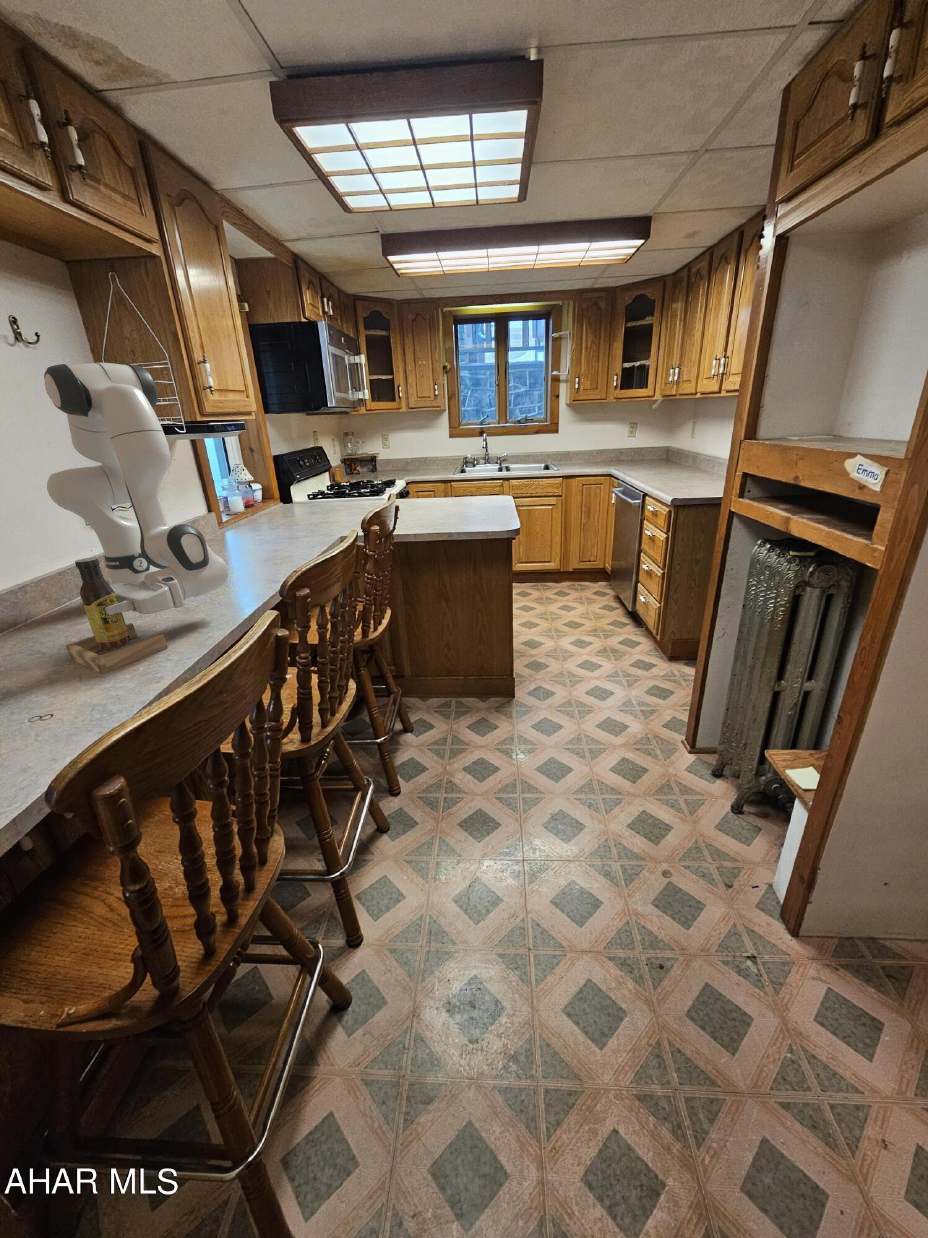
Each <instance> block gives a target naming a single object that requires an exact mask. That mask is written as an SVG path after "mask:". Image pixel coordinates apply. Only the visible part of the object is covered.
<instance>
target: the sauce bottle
mask: <svg viewBox="0 0 928 1238" xmlns="http://www.w3.org/2000/svg"><path fill="white" fill-rule="evenodd" d="M74 564H75V567H76V568H77V569H78V572H79V575H80V578H81V581H82V584H81V586H80V590H79V595H80V598H81V600H82V606H83V609H84V611H85V614H86V617H87V619H88V622H89V625H90V629H91V631H92V634H93V635H92V636H94V637H95V640H96V642H97V643H98V647H99V648H100V649H103V650H111V649H116V648H118V647H119V648H121V647H122V646H126V644H128V643H129V642H130V640H129V639H130V638H129V633H128V630H127V627H126V625H127V624H126V621H125V618H124V615H123V612H120V613H115V614H112V615H108V614H106V613H105V612H104V609H103V608H104V606H108V605H111V604H113V605H114V604H118V603H119V602H118V599H117V596H116V593H115V592H114V591H113V589H112V588H111V587H110V585H109V584H108V583H107V582H106V580H105V579H104V574H103V572H102V570H101V567H100V561H99V559H98V557H87V558H86V557H85V558H81V559H77V560H75V561H74Z"/></svg>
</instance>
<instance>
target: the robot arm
mask: <svg viewBox="0 0 928 1238" xmlns="http://www.w3.org/2000/svg"><path fill="white" fill-rule="evenodd" d="M43 378H44V388H45V391H46V394H47V396H48V397H49V399H50V401H52V404H53V405H54V407H56V408H57V409H58V410H59V411H61V412H63V413H64V414H66V417H67V422H68V427H69V432H70V434H69V435H70V438H71V444H72V446H73V448H74V449H75V452H76V451H77V453H78V454H80V455H81V456H82V457H84V458H87V459H88V460H90V461H93V462H97V463H100V465H95V466H88V467H87V466H85V467H74V468H73V467H72V468H68V469H64V470H61V471H58V472H57V471H56V472H54V473H51V474H50V475H49V477H48V479H47V482H46V490H47V493H48V496H49V497H50V499H51V500H52V501H53V503H55V504H56V505H57V506H59V507H60V508H62V509H64V510H66V511H69V512H72V513H73V514H75V515H77V516H78V517H80V518H81V519H82V520H84V521H85V522H86V523H87V524H88V525H89V526H90V527H91V528H92V529H93V531H94V532H95V535H96V537H97V538H98V541H99V543H100V545H101V547H102V550H103V552H104V553H103V554H104V563H105V568H107V569H106V571H105V574H103V577H104V579H105V580H106V582H107V583H108V584H109V585H110V587H111V588H112V589H113V591H114V592H115V593H116V596H117V599H118V602H119V603H118V604H114V605H113V604H111V605H108V606H104V608H103V609H104V612H105V613H106V614H108V615H112V614H115V613H120V612H122V613H125V612H135V613H138V614H141V615H153V614H156V613H160V612H163V611H167V610H170V609H180V608H183V607H185V601H187V600H188V599H189V598H190V599H191V598H196V597H200V596H203V595H206V594H208V593H211V592H214V591H216V590H218V589H219V588H221V587H222V586H224V585H225V583H226V582H227V581H228V576H229V571H228V566H227V564H226V562H225V560H224V559H223V558H222V557H221V556H219V555H217V554H216V553H215V552H214V551H213V550H212V549H211V548H210V547H209V545H208V543H207V542H206V539H205V537H204V536H203V533H202V532H201V531H199V530H198V528H197V527H194V526H193V525H191V524H190V525H189V524H176V525H172V526H170V525H169V523H168V521H167V518H166V517H167V516H166V514H165V510H164V509H163V508H164V507H163V504H162V502H161V498H160V485H161V481H162V480H163V477H164V476H165V474H166V472H167V470H168V469H169V467H170V465H171V460H172V457H171V451H170V447H169V443H168V440H167V437H166V435H165V433H164V430H163V427H162V425H161V423H160V421H159V417H158V416H157V414H156V412H155V410H154V408H155V407H156V406H157V402H158V401H159V394H158V389H157V384H156V382H155V380H154V377H153V376H152V375H151V374H150V373H149V371H148V370H147V369H146V368H144V367H143V366H139V365H135V364H132V363H130V364H129V363H126V364H120V363H119V364H118V363H114V362H113V363H111V362H94V363H92V362H91V363H90V362H89V363H88V362H87V363H76V364H66V363H62V364H60V363H59V364H55V365H51V366H48V367H47V368H46V370H45V372H44V374H43ZM126 504H131V506H132V510H133V512H134V516H135V518H136V520H134V519H133V518H129V517H126V516H121V515H117V514H115V512H114V511H113V509H112V507H113V506H119V505H126Z"/></svg>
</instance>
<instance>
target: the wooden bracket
mask: <svg viewBox="0 0 928 1238" xmlns="http://www.w3.org/2000/svg"><path fill="white" fill-rule="evenodd" d="M134 625H135V624H134V623H131V622H130V623H127V624H126V627H127V630H128V633H129V638H130V639H131V640H132V639H133V638H134V637H136V638H138V634H137V631H136V629H135V626H134ZM130 639H129V641H130ZM134 639H135V638H134ZM134 639H133V640H134ZM65 648H66V650H67V653H68V654H69V657H70V659H71V660H72V661H75V662H76V663H78V664H80V665H83V666H84V667H87V668H89V669H91V670H94V671H95V672H97V673H100V674H102V675H103V674H106V673H108V672H111V671H114V670H116V669H118V668H121V667H124V666H125V665H128V664H131V663H134V662H136V661H138V660H142V659H144V658H146V657H149V656H151V655H153V654H156V653H159V652H161V651H164V650H167V649H168V648H169V647H168V643H167V641H166V637H165V634H164V633H162V632H161V633H157V634H155V635H151V636H149V637H146V638H145V639H142V640H138V641H136V642H134V643H131V644H128V645H124V646H123V647H122V646H121V647H119V648H117V649H114V650H112V651H109V652H106V653H104V654H101V655H100V654H98V653H97V652H100V651H102V650H104V649H100V648H99V647H98V643H97V642H96V640H95V637H94V635H92V636H90V637H89V636H88V637H86V638H82V639H79V640H77V641H74V642H71V643H68V644H66V645H65Z"/></svg>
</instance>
